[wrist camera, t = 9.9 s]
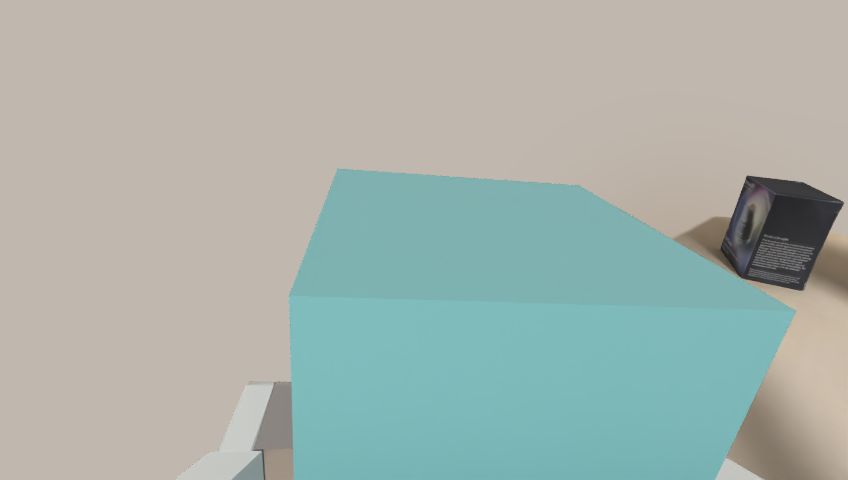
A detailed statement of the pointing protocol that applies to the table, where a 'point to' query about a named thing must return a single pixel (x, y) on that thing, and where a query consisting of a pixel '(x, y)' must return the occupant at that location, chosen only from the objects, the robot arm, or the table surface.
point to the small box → (779, 231)
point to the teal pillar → (514, 338)
